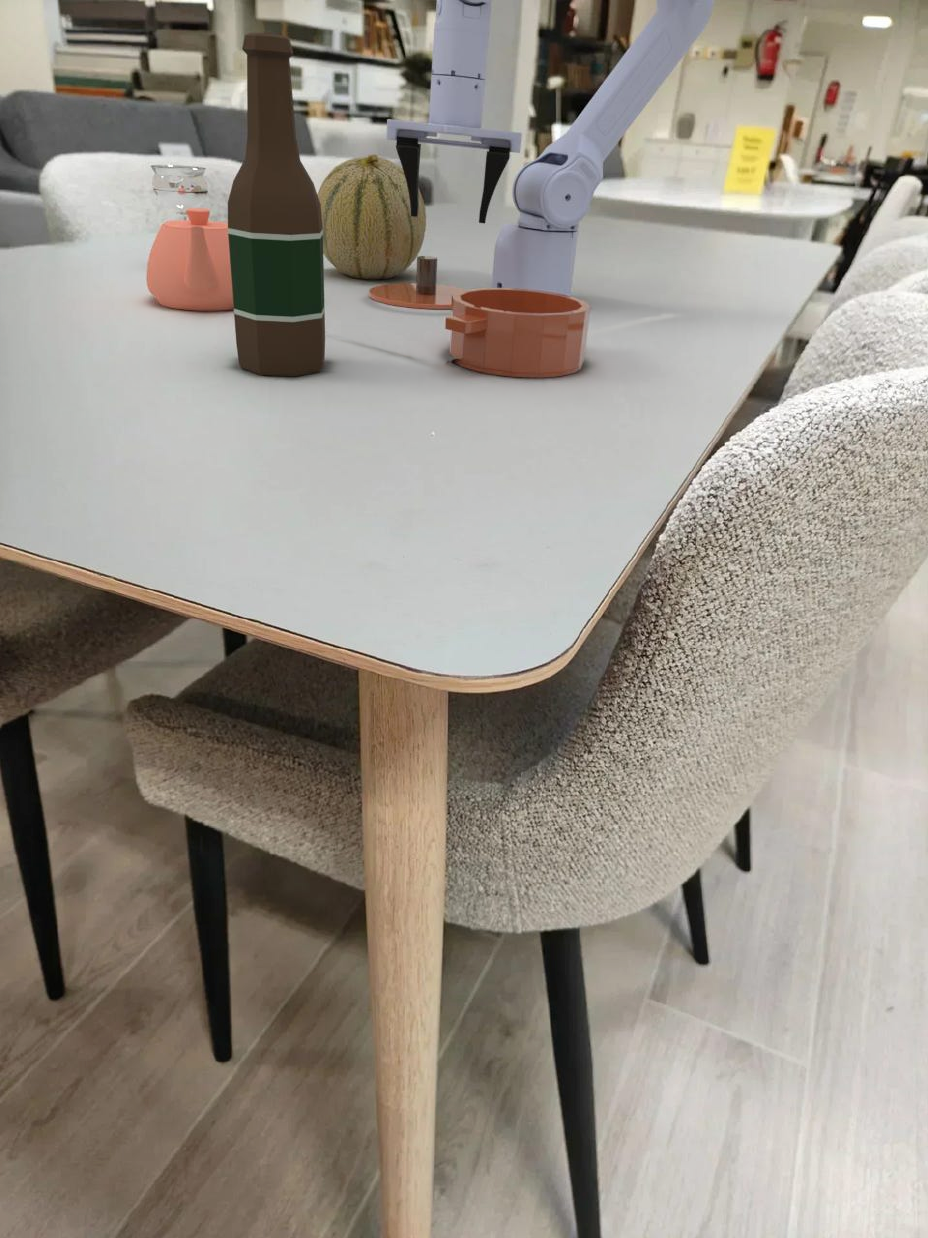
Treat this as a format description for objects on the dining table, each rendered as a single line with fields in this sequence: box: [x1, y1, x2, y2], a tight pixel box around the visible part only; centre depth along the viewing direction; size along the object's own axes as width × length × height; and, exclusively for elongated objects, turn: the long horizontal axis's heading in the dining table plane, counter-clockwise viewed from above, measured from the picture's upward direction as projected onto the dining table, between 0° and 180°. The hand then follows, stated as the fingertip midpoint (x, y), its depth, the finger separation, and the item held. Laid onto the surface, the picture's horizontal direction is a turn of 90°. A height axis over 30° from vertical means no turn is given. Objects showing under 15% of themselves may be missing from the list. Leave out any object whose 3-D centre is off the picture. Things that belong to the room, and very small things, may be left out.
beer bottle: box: [227, 32, 326, 377], centre depth 69 cm, size 8×8×24 cm
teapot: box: [146, 207, 234, 312], centre depth 93 cm, size 12×18×10 cm
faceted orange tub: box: [444, 287, 591, 379], centre depth 80 cm, size 13×18×5 cm
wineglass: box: [150, 164, 209, 220], centre depth 111 cm, size 7×7×12 cm
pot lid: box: [368, 255, 469, 310], centre depth 102 cm, size 14×14×5 cm
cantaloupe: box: [317, 153, 427, 281], centre depth 111 cm, size 15×15×15 cm
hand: (448, 218), depth 97 cm, fingers open, 7 cm apart
